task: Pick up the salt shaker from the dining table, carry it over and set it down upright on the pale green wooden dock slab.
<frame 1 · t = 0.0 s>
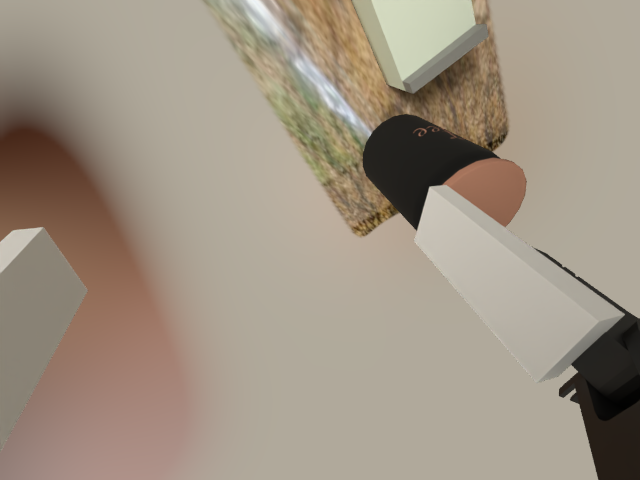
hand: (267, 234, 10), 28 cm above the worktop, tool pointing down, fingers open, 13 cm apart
coffee jar: (392, 150, 41), on the worktop
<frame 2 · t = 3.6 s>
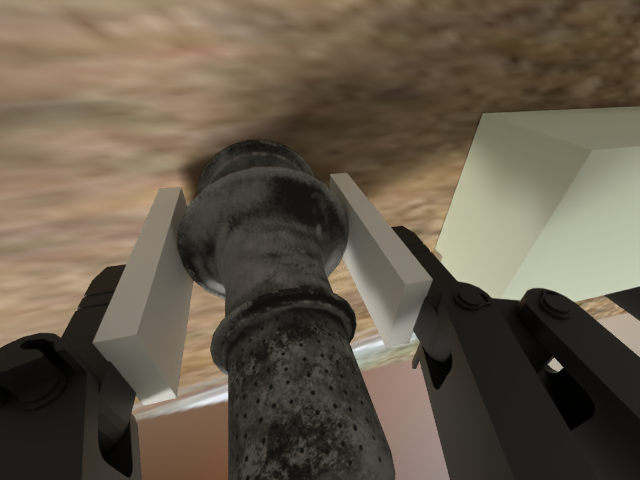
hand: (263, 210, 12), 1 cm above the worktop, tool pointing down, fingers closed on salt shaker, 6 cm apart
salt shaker: (260, 197, 13), on the worktop, touching gripper
dock: (551, 187, 17), on the worktop
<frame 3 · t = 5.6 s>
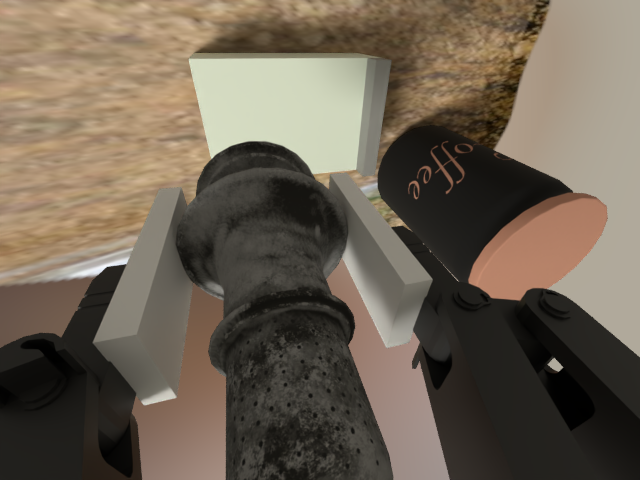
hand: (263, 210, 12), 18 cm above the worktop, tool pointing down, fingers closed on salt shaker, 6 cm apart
coffee jar: (412, 166, 35), on the worktop
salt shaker: (259, 198, 13), point 17 cm above the worktop, touching gripper
dock: (284, 109, 26), on the worktop
when the fingers open (7 cm above the worktop, at t = 8.0 s): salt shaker drops 1 cm, resting on dock.
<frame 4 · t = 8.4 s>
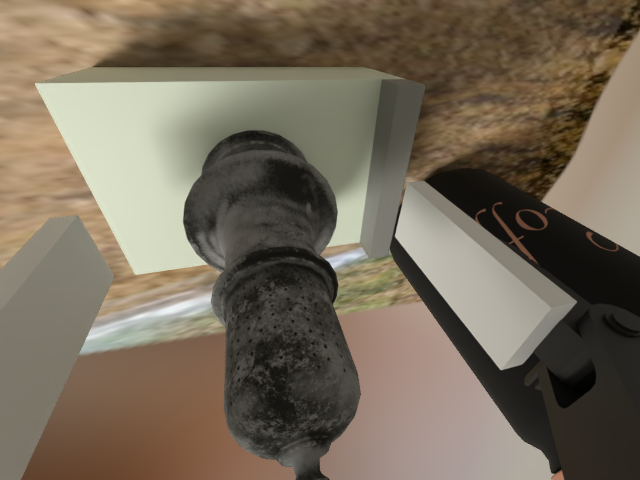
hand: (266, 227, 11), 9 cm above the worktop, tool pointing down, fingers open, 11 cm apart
coffee jar: (436, 217, 25), on the worktop
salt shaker: (258, 184, 14), point 5 cm above the worktop, touching dock
dock: (252, 150, 17), on the worktop
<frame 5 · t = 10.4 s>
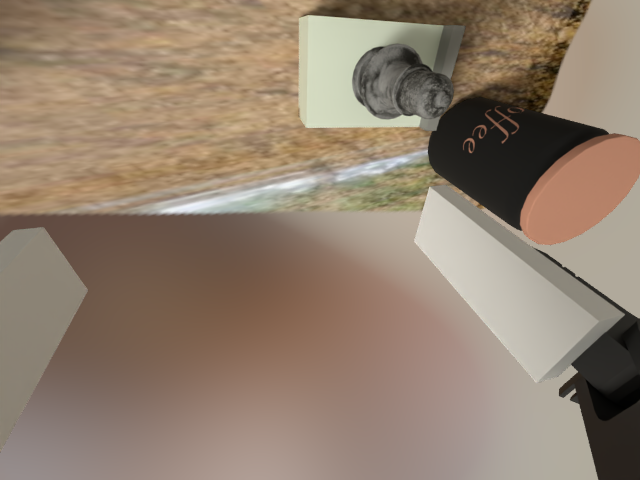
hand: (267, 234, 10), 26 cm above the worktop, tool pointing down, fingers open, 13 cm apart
coffee jar: (458, 137, 39), on the worktop
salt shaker: (376, 79, 27), point 5 cm above the worktop, touching dock
dock: (360, 73, 31), on the worktop
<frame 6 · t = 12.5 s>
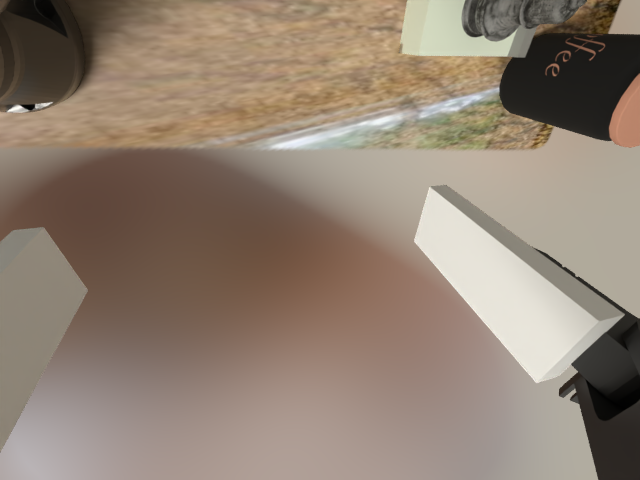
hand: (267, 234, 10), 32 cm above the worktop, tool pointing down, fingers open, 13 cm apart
coffee jar: (525, 75, 43), on the worktop
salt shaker: (481, 9, 32), point 5 cm above the worktop, touching dock
dock: (455, 11, 36), on the worktop
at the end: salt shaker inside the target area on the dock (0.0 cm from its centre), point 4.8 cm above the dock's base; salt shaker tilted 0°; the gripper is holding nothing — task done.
